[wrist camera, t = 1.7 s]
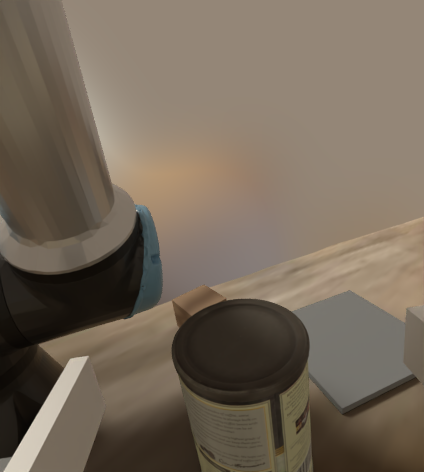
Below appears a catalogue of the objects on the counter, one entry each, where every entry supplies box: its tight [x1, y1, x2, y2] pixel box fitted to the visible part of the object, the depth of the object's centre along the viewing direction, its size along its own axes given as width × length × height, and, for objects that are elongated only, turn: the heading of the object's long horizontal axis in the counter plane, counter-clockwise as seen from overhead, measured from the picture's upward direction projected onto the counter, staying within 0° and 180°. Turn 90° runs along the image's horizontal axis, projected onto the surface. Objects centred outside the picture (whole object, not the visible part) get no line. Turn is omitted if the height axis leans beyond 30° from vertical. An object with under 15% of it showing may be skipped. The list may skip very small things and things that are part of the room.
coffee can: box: [172, 299, 313, 472], centre depth 25 cm, size 10×10×14 cm
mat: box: [292, 290, 416, 414], centre depth 40 cm, size 16×16×1 cm
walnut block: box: [172, 285, 226, 328], centre depth 46 cm, size 6×6×5 cm
